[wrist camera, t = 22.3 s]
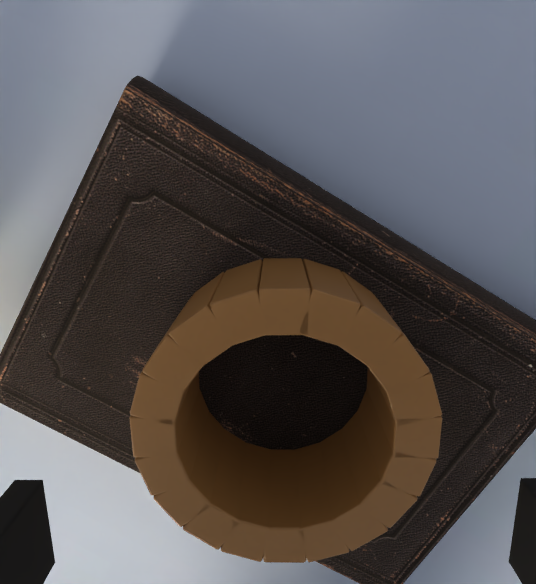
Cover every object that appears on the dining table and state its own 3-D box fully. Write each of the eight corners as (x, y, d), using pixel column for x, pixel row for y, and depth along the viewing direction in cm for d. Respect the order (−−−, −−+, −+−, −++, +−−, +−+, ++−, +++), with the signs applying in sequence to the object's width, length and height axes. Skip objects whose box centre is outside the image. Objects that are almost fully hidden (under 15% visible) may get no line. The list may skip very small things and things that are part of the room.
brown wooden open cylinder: (172, 477, 22) (143, 562, 18) (155, 258, 20) (115, 289, 15) (395, 477, 22) (428, 564, 17) (411, 257, 19) (456, 287, 14)
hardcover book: (380, 563, 26) (390, 600, 24) (8, 372, 24) (-20, 394, 21) (565, 339, 23) (597, 358, 20) (148, 81, 20) (132, 70, 18)
